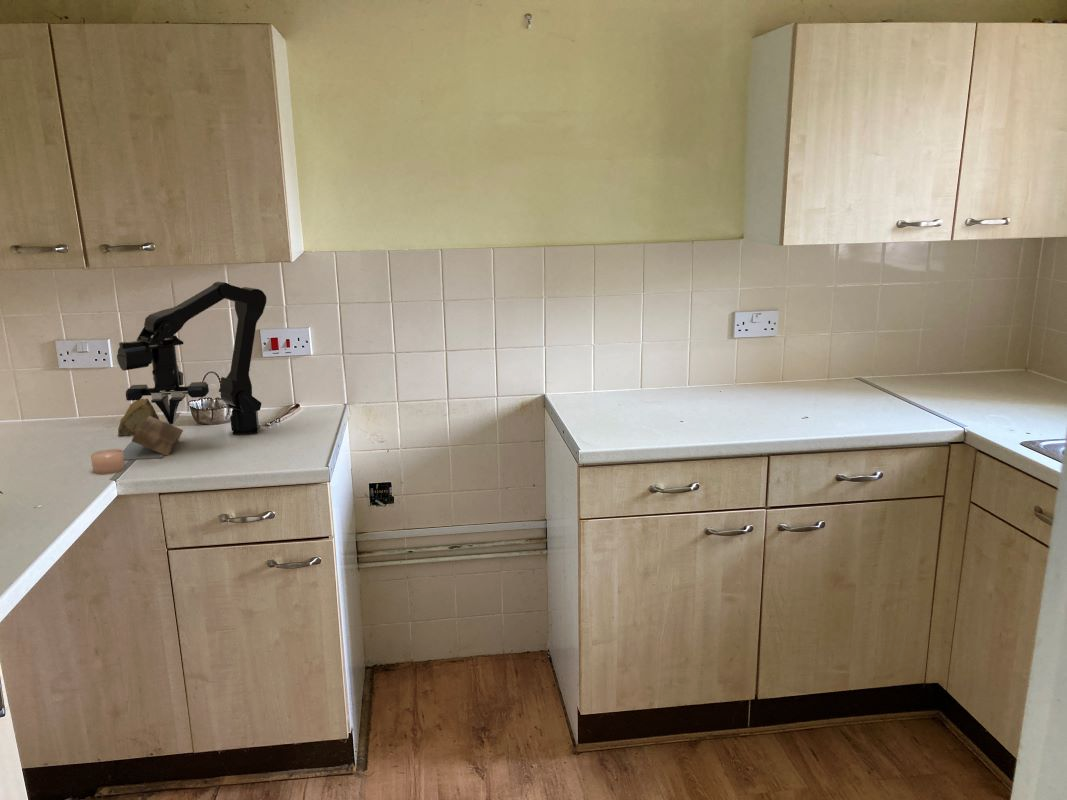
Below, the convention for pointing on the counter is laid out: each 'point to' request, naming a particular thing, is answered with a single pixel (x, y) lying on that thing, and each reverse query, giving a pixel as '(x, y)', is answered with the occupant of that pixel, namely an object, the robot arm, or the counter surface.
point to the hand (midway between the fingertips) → (171, 423)
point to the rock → (136, 417)
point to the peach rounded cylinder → (108, 461)
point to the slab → (157, 435)
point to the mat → (140, 452)
